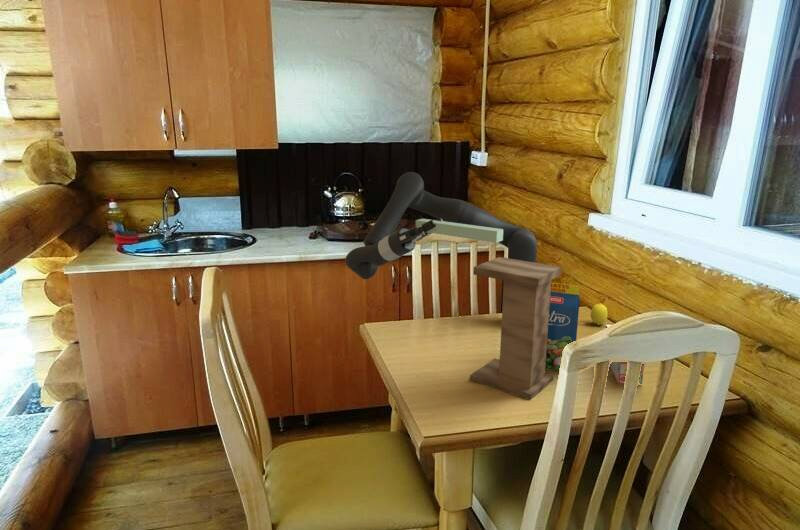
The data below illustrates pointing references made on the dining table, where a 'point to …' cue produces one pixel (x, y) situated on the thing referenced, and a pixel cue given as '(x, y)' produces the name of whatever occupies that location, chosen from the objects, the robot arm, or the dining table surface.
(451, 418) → the dining table surface
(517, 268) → the walnut stand
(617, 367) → the stack of blocks
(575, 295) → the blue food package
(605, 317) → the lemon
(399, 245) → the robot arm
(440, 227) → the sage bar
